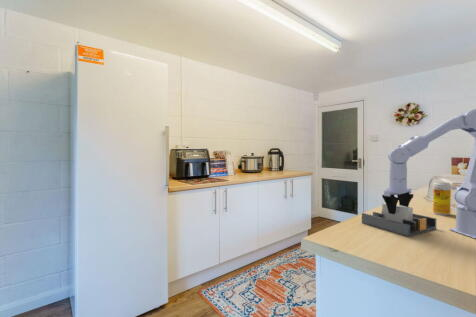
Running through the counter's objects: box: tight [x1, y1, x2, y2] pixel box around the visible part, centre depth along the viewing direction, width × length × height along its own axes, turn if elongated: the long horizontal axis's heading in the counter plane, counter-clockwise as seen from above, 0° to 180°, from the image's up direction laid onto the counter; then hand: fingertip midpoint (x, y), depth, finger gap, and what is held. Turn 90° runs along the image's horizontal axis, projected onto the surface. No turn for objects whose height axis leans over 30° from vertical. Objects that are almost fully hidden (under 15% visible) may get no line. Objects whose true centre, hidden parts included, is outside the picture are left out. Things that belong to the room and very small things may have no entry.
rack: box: [361, 211, 437, 238], centre depth 94 cm, size 18×18×5 cm
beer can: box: [432, 181, 452, 216], centre depth 110 cm, size 6×6×15 cm
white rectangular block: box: [381, 202, 414, 223], centre depth 94 cm, size 10×3×7 cm, turn 26°
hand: (397, 212), depth 94 cm, fingers open, 7 cm apart
